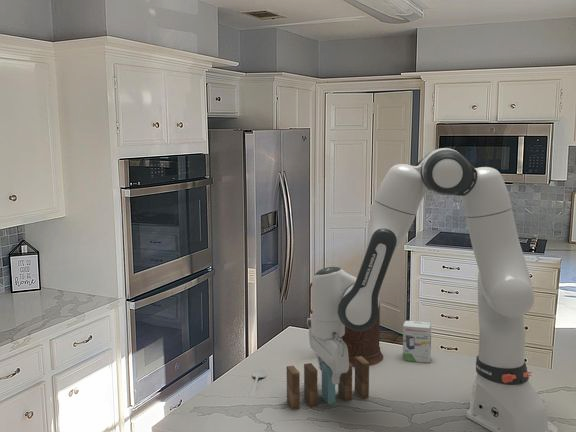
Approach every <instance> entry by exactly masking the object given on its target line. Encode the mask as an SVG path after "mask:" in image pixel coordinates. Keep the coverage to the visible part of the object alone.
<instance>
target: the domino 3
mask: <svg viewBox="0 0 576 432" xmlns="http://www.w3.org/2000/svg"><path fill="white" fill-rule="evenodd" d="M331 376H333V372H332V369H331V368H330V367H329V366H328V365H327V364H326V363H325V362H324V361H323V362H322V371H321V397H322V399H324V400H325V403H327V404H328V405H331V403H332V404H335V403H336V385H334V384H333V383H332V382H331Z"/></svg>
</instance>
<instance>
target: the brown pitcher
mask: <svg viewBox="0 0 576 432" xmlns="http://www.w3.org/2000/svg"><path fill="white" fill-rule="evenodd" d="M308 309H309V310H308V311H309V313H310V314H311V315H312V313H313V309H312V282H311V283H309V286H308ZM380 312H381V303H380V304H379V316H378V320H377V322H376V324H375V325H374V326H373V327H372V328H370V329H368V330H366V331H354V330H351V329H349V328H347V327H346V326H345V334H344V335H343V336H342V337H341V338H342V339H343V342H345V343H346V345H347V348H348V357H349V363H350V364H352V368H355V357H359V356H362V357H363V358H364V359H365V360H366V361H368V362H369V367H371V366H375V365H378V364H380V363H382V361H383V360H384V354H383V353H382V351H381V347H380V325H381V324H380V322H381V320H380V316H381V313H380Z"/></svg>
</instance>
